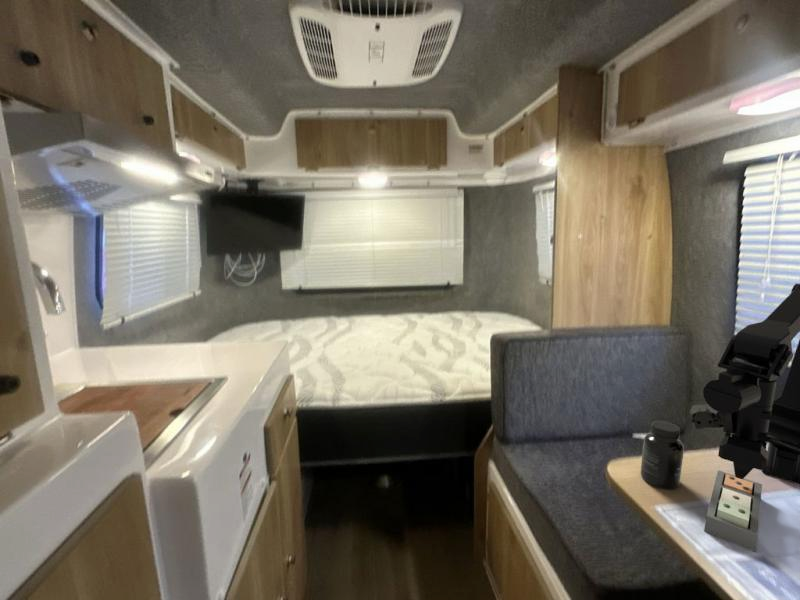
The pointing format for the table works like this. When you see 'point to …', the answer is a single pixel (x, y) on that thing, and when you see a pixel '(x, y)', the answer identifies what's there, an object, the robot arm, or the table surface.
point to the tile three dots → (738, 484)
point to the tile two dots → (733, 513)
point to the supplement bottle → (662, 455)
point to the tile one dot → (736, 497)
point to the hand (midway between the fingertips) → (739, 477)
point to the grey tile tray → (729, 529)
